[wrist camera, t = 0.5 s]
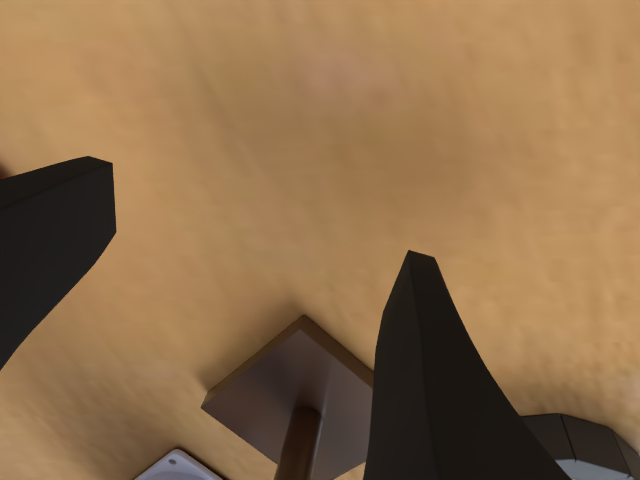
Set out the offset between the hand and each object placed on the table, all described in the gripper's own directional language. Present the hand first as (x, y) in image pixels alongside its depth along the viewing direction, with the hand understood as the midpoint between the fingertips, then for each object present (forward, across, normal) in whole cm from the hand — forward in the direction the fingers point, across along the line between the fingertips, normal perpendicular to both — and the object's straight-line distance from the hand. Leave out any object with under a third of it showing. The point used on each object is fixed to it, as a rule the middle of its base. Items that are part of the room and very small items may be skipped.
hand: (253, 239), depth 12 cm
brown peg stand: (+8, -3, +17) cm, 19 cm away
